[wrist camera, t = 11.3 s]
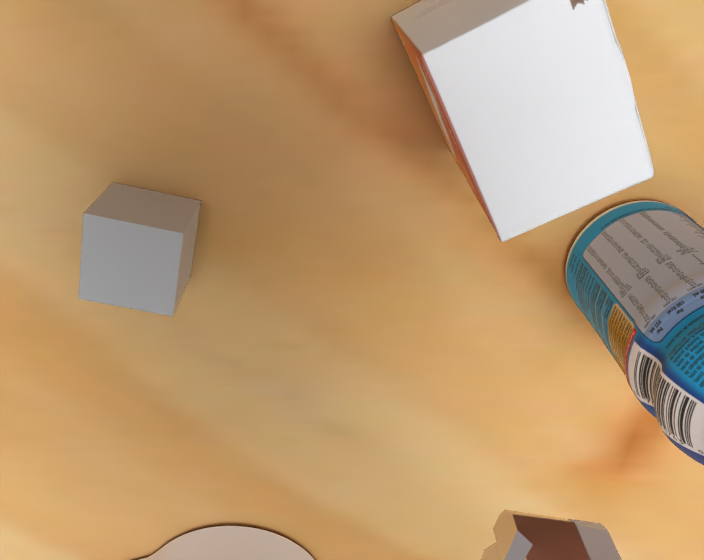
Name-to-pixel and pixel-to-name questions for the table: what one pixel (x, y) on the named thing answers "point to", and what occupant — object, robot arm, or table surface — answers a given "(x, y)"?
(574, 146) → the small box
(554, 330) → the table surface
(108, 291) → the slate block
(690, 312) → the beverage bottle
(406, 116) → the table surface
